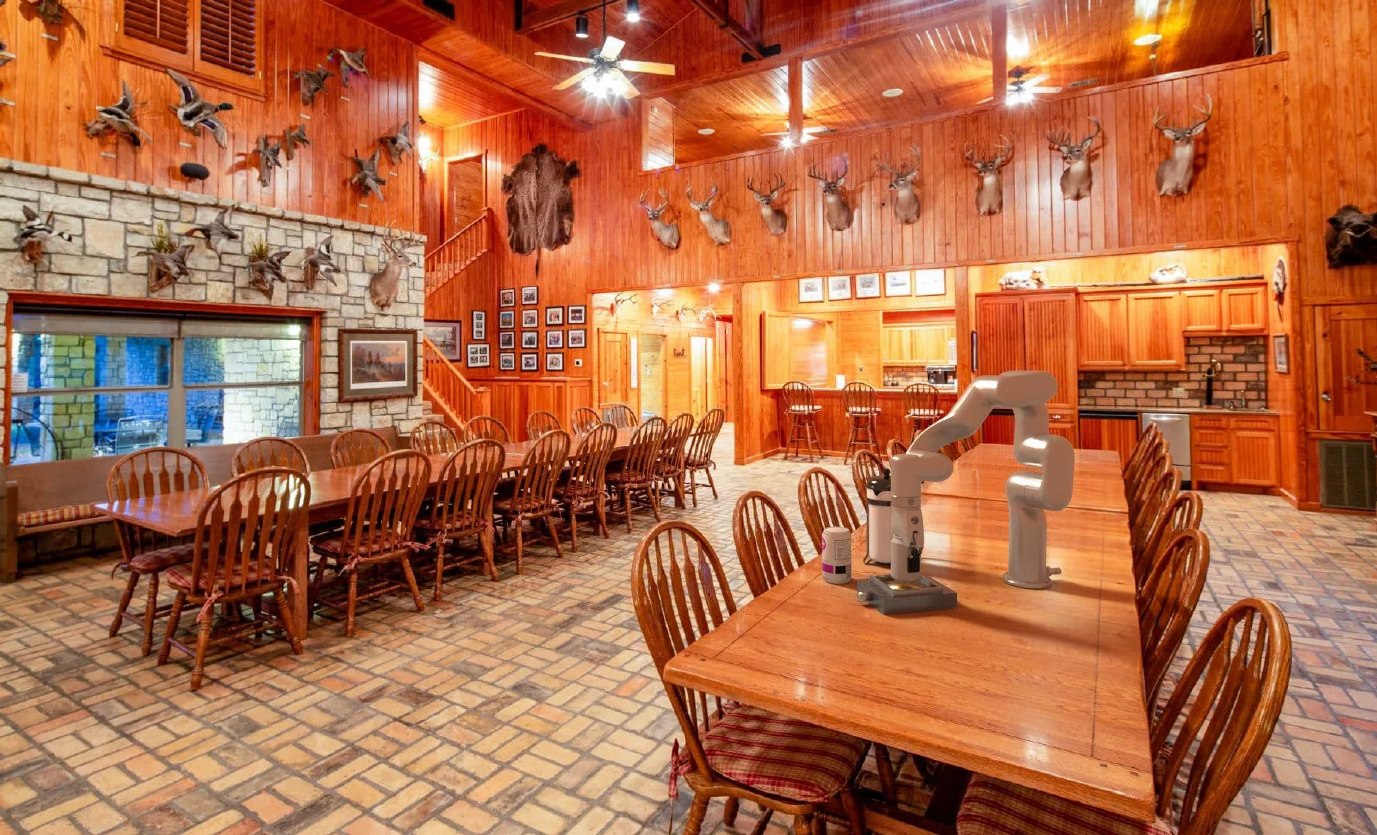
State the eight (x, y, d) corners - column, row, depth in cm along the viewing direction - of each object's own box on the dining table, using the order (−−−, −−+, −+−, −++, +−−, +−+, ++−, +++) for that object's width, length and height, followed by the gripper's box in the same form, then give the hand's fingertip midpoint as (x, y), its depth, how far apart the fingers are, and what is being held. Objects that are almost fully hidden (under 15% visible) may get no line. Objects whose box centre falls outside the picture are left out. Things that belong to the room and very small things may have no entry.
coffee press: (922, 569, 204) (922, 471, 202) (869, 570, 204) (868, 472, 202) (904, 553, 221) (904, 463, 219) (855, 554, 221) (855, 464, 219)
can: (922, 584, 173) (922, 538, 172) (892, 583, 175) (892, 537, 174) (918, 575, 181) (918, 531, 180) (889, 574, 182) (889, 530, 181)
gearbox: (924, 587, 188) (924, 569, 187) (956, 608, 172) (957, 588, 172) (846, 594, 184) (846, 575, 183) (872, 615, 168) (872, 595, 168)
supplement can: (820, 583, 194) (819, 531, 193) (825, 574, 201) (825, 525, 200) (848, 586, 191) (848, 534, 189) (853, 577, 198) (853, 527, 197)
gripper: (936, 507, 168) (936, 576, 170) (903, 494, 185) (903, 557, 187) (908, 509, 167) (908, 579, 168) (877, 496, 184) (877, 559, 185)
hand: (905, 567), depth 178 cm, fingers closed on can, 7 cm apart
